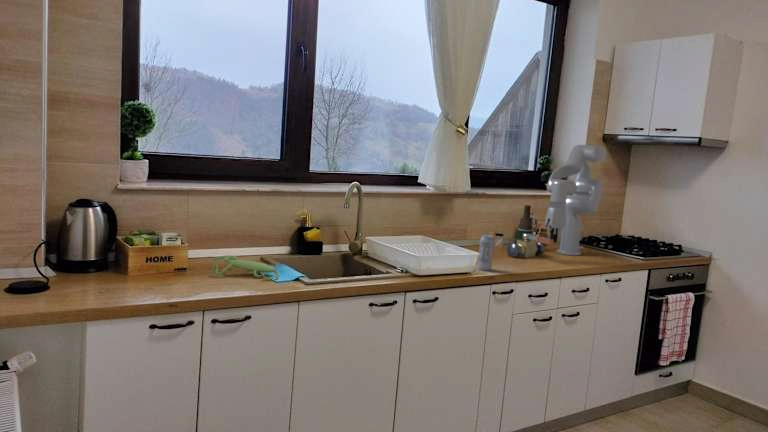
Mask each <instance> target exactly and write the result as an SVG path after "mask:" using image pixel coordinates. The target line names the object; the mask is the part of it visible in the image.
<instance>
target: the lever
mask: <svg viewBox="0 0 768 432" xmlns="http://www.w3.org/2000/svg"><path fill="white" fill-rule="evenodd" d="M523 239H528V240H532V241H536V242H541V243H542V244H544V245H546V244H547V245H554V242H553V241H554V239H550V237H546V236H536V235H533V233H532V234H529V233H523Z"/></svg>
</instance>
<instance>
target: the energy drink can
mask: <svg viewBox="0 0 768 432" xmlns="http://www.w3.org/2000/svg"><path fill="white" fill-rule="evenodd" d="M479 240H480V241H479V248H478V259H477V268H478V270H480V271H488V272H489V271H491V269H492V266H493V255H494V245H495V244H494V243H495V239H494V236H493V235H490V234H489V235H488V234H482V235H481V238H480V239H479ZM479 254H480V255H479Z"/></svg>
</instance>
